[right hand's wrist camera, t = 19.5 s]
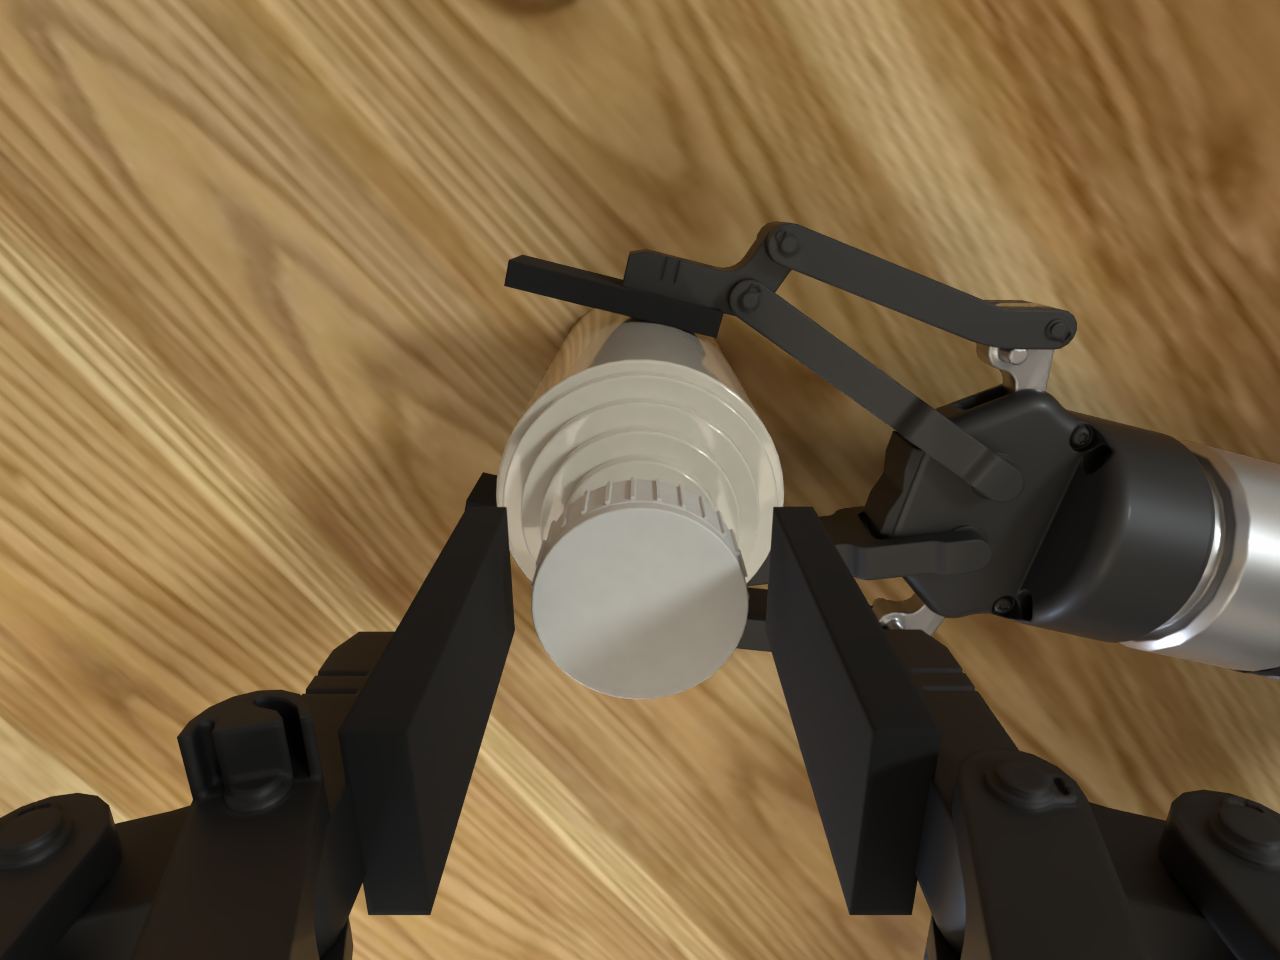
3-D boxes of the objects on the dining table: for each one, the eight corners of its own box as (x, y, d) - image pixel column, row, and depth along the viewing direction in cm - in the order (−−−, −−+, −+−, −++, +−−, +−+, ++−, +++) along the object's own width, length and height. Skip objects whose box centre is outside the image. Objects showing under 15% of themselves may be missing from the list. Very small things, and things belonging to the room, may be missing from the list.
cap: (705, 677, 16) (711, 723, 14) (518, 630, 15) (505, 673, 14) (769, 507, 14) (784, 539, 13) (566, 450, 14) (558, 478, 12)
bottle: (646, 256, 29) (654, 323, 12) (759, 386, 31) (903, 603, 14) (520, 375, 31) (373, 580, 14) (634, 492, 33) (628, 801, 16)
